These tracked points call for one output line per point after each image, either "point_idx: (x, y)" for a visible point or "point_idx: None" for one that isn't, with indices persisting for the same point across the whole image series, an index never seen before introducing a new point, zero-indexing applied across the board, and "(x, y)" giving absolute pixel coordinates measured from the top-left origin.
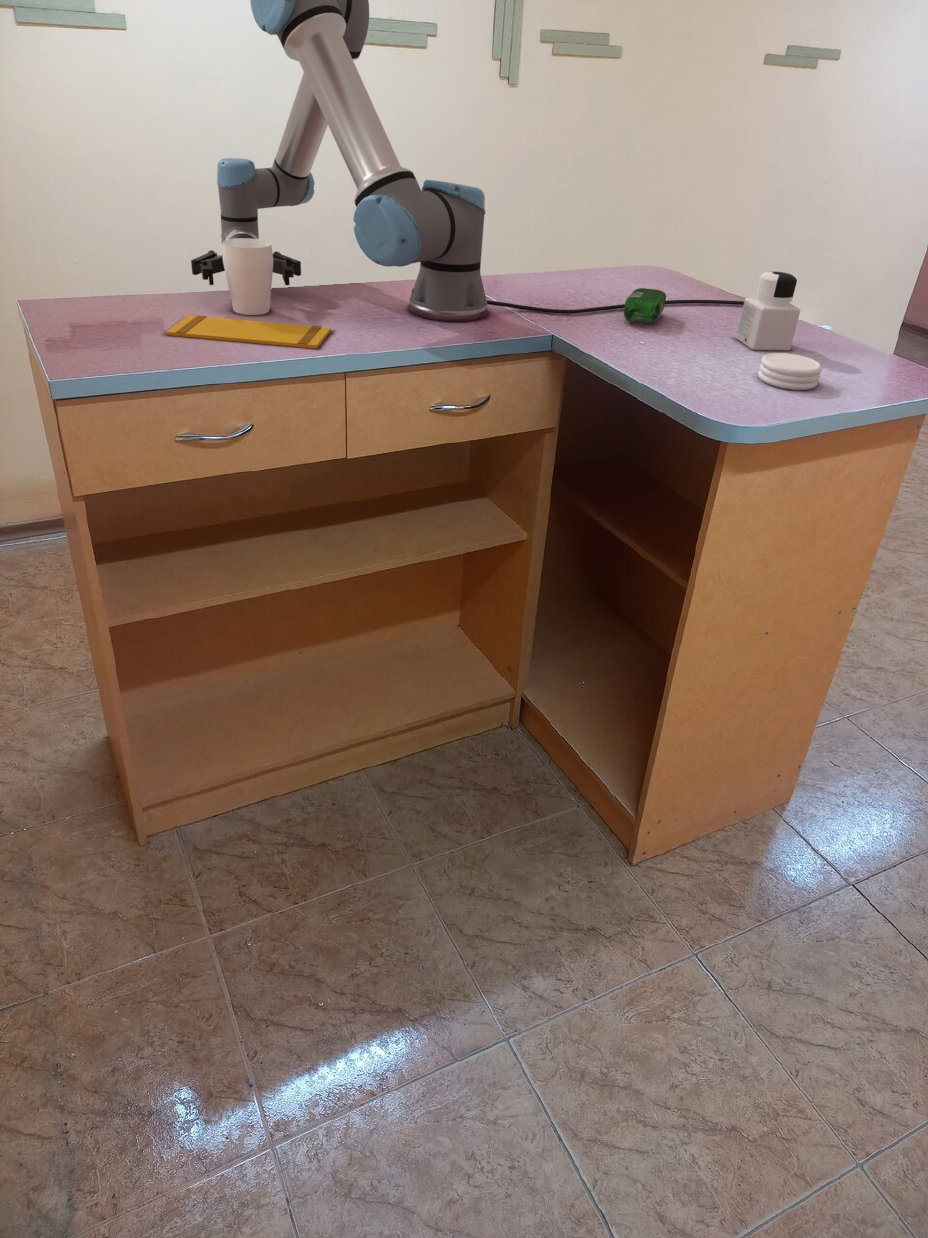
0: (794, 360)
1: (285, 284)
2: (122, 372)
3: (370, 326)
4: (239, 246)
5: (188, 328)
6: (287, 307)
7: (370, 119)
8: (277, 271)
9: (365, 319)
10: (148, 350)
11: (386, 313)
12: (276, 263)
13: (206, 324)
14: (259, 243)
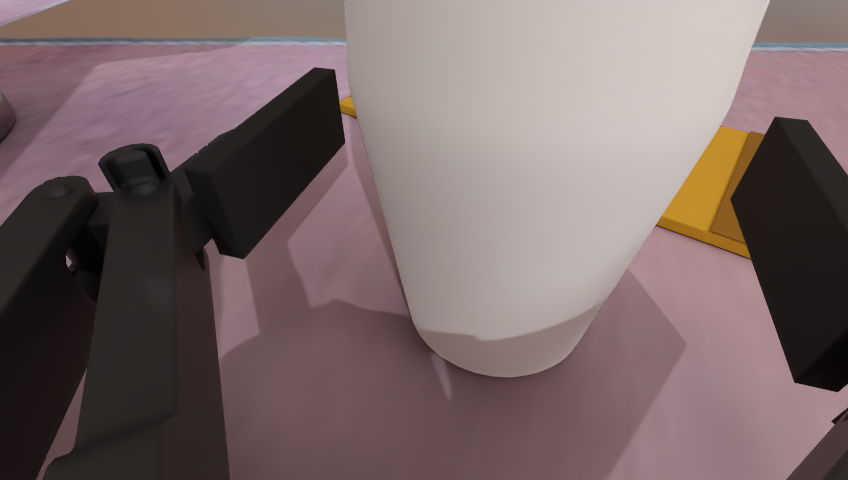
0: None
1: (344, 139)
2: (819, 53)
3: (214, 116)
4: (588, 78)
5: (749, 151)
6: (303, 313)
7: None
8: (210, 312)
9: (167, 151)
10: (815, 102)
11: (42, 176)
12: (187, 272)
13: (695, 171)
14: (381, 4)
